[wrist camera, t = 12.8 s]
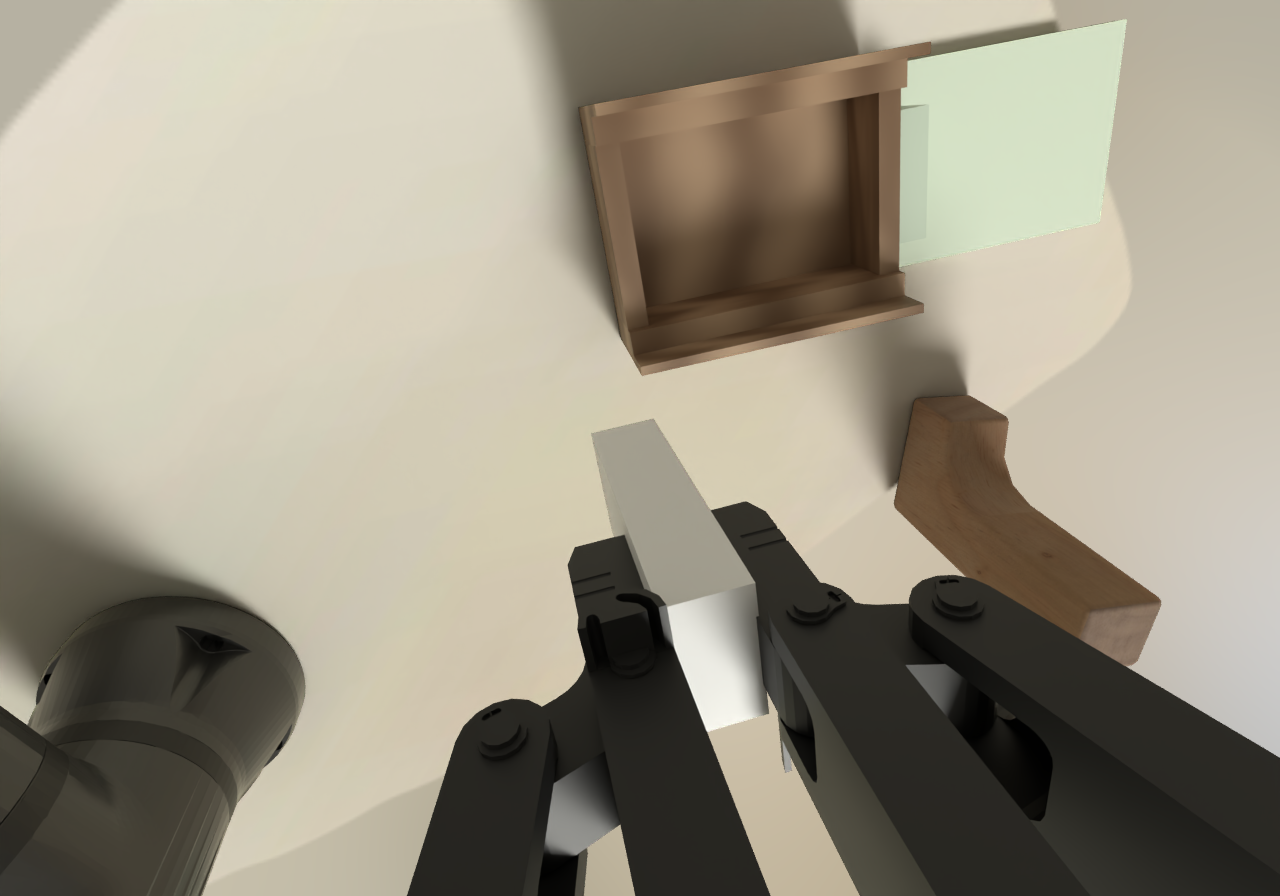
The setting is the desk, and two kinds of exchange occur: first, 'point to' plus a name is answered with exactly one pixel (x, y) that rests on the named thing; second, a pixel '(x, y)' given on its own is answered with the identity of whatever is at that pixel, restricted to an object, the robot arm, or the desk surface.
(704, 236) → the box
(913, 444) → the wooden block
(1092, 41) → the lid
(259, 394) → the desk surface
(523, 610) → the desk surface
